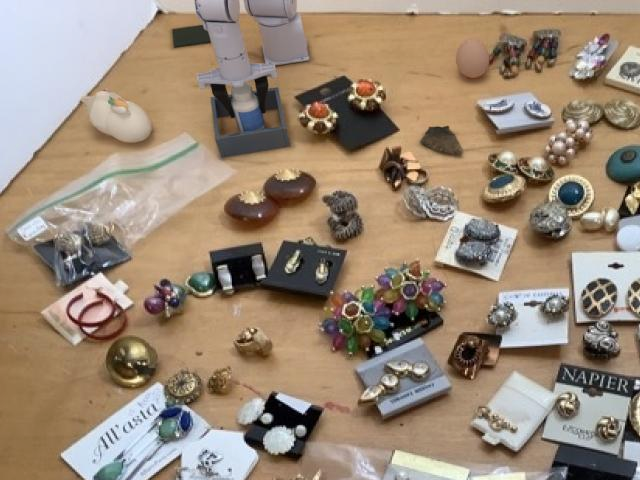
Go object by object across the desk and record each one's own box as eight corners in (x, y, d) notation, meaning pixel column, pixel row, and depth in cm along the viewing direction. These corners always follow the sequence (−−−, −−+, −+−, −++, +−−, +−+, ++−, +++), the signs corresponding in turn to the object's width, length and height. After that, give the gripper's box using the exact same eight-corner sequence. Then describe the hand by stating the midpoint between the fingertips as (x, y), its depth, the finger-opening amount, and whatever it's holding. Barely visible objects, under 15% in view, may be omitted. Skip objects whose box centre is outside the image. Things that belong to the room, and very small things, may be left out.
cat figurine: (143, 102, 154) (79, 72, 156) (124, 140, 154) (60, 110, 156) (169, 121, 163) (109, 93, 166) (151, 157, 163) (91, 128, 166)
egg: (463, 62, 179) (463, 27, 172) (494, 69, 177) (494, 34, 170) (451, 80, 175) (450, 45, 168) (482, 88, 173) (482, 53, 167)
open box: (282, 105, 169) (278, 86, 165) (290, 146, 161) (286, 127, 158) (216, 115, 167) (210, 97, 163) (221, 157, 159) (215, 139, 156)
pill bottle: (272, 128, 165) (261, 86, 157) (254, 142, 162) (242, 101, 154) (252, 119, 166) (240, 77, 158) (233, 133, 164) (221, 91, 156)
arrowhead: (460, 160, 160) (460, 154, 158) (416, 145, 162) (416, 140, 161) (476, 140, 163) (476, 134, 162) (433, 125, 166) (433, 120, 165)
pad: (208, 25, 186) (208, 24, 185) (210, 42, 182) (210, 41, 182) (172, 30, 184) (172, 29, 184) (174, 47, 181) (173, 46, 180)
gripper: (191, 68, 146) (211, 130, 157) (272, 57, 148) (286, 119, 159) (189, 47, 150) (209, 109, 161) (268, 35, 152) (282, 97, 163)
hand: (247, 112), depth 161 cm, fingers closed on pill bottle, 5 cm apart
